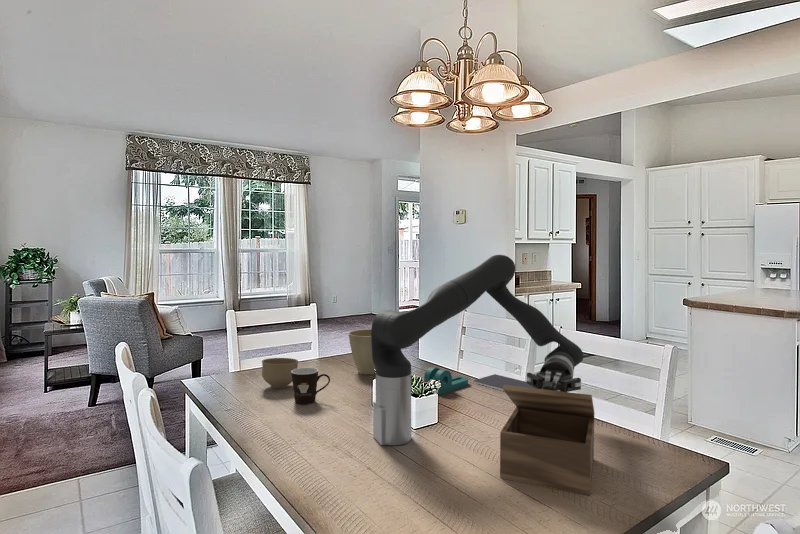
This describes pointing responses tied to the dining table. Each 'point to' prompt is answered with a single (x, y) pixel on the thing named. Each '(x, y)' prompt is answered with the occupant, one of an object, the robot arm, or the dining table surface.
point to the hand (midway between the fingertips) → (548, 391)
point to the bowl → (278, 371)
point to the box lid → (551, 400)
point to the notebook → (500, 382)
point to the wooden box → (548, 449)
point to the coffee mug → (306, 384)
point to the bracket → (445, 379)
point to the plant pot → (362, 350)
